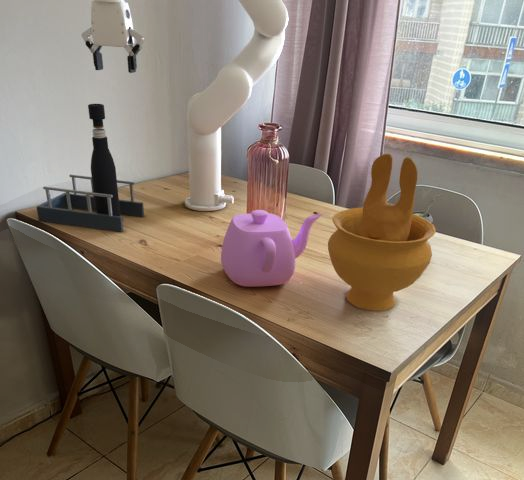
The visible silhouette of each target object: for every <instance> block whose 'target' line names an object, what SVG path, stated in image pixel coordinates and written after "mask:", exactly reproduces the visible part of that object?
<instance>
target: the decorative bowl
mask: <svg viewBox="0 0 524 480" xmlns="http://www.w3.org/2000/svg"><path fill="white" fill-rule="evenodd" d="M392 169H393V156H392V154H391V153H383V154H381V155H379V156H378V157H376V158H375V160H373V162H372V165H371V169H370V170H371V171H370V176H371V184H370V187H369V189H368V192H367V194H366V196H365V198H364V201H363V205H362V207H353V208H347V209H344V210H340V211H338V212H336V213H335V214H334V215H333V216H332V223H333V226H335V227H336V229H335V231H334V232H333V233H332V234H331V235H330V237H329V238H328V241H327V250H328V251H327V252H328V255H329V258H330V262H331V264H332V266H333V269H334V271H335V273H336V275H337V276H338V277H339V278H340V279H341V280H342V281H343V282H344V283H346V284H347V285H349V286H351V288H350V289H349V291H348V292H347V293H346V295H345V297H346V300H347V302H349V303H350V304H351V305H353V306H355V307H357V308H358V309H362V310H368V311H375V312H377V311H387V310H389V309H392V308H393V307H395V305H396V299H395V296H394V293H396V292H397V293H398V292H399V291H402V290H405V289H406V288H409V287H410V286H412V285H413V284H414V283H415V282H416V281H418V279H420V278H421V276H422V274H423V273H424V272H425V270H426V269H427V268H428V266H429V265H430V262H431V260H432V256H433V254H432V253H433V252H432V247H431V245H430V243H429V241H427V240H429V239H431V238H432V237H434V236H435V234H436V231H437V229H436V227H435V225H434V223H433V224H431V223H430V222H429V221H427V220H426V219H424V218H422V217H419V216H417V215H414V214H412V212H414V206H415V194H416V189H417V183H418V175H419V174H418V168H417V165H416V163H415V162H414V160H413V158H412V157H409V156H406V157H405V158H403V160H402V162H401V167H400V172H399V183H398V184H399V188H400V189H399V190H400V196H399V199H398V201H397V202H396V203H394V204H393V203H389V202H388V200H387V192H388V189H389V185H390V181H391V175H392Z"/></svg>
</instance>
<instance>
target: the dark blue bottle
mask: <svg viewBox="0 0 524 480" xmlns="http://www.w3.org/2000/svg"><path fill="white" fill-rule="evenodd" d="M87 108H88V109H87V110H88V117H89V120H92V127H93V129H92V137H91V140H92V152H91V157H90V175H91V177H92V183H93V191H94V193H101V194H109V195H113V197H112V198H111V206H112V215H114V216H121V214H120V207H119V200H120V199H119V198H120V197H119V188H118V183H117V180H118V179H117V170H116V164H115V161H114V158H113V156H112V153H111V150H110V148H109V143H108V137H107V134H106V129H105V128H104V127H105V125H104V120H106V115H105V114H106V113H105V105H104V104H103V103H89V104H88V105H87ZM94 199H95V207H96V211H95V213H98V214H106V215H109V211H108V202H107V197H102V196H94Z"/></svg>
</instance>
